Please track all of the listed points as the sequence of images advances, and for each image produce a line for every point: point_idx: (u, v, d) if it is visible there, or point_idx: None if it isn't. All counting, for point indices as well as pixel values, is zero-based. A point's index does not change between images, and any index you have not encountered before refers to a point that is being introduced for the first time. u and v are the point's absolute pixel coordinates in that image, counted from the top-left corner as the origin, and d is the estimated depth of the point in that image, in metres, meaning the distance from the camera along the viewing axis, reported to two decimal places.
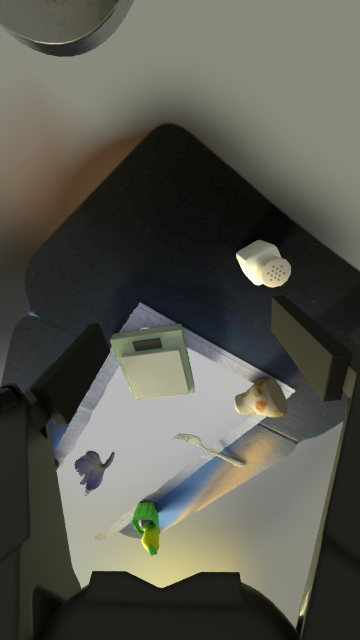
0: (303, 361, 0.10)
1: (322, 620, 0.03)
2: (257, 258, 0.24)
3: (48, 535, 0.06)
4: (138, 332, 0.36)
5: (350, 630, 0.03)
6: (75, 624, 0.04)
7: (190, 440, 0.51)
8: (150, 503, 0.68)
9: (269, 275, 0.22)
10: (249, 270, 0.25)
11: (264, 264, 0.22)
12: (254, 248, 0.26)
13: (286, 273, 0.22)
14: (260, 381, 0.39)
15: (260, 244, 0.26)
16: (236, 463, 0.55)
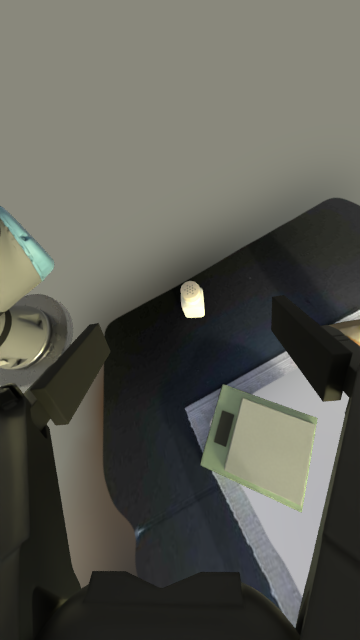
0: (303, 361, 0.10)
1: (322, 620, 0.03)
2: (183, 300, 0.36)
3: (48, 535, 0.06)
4: (210, 429, 0.34)
5: (350, 630, 0.03)
6: (75, 624, 0.04)
7: None
8: None
9: (189, 293, 0.33)
10: (189, 307, 0.35)
11: (181, 294, 0.33)
12: None
13: (193, 284, 0.33)
14: None
15: None
16: None
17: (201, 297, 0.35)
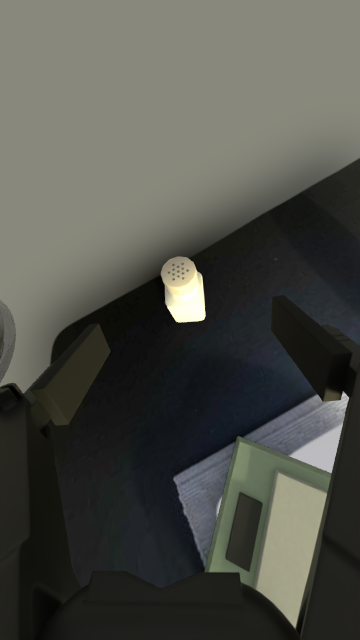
0: (303, 361, 0.10)
1: (322, 620, 0.03)
2: (168, 293, 0.21)
3: (48, 535, 0.06)
4: (217, 525, 0.19)
5: (350, 630, 0.03)
6: (75, 624, 0.04)
7: None
8: None
9: (176, 278, 0.17)
10: (178, 305, 0.20)
11: (163, 281, 0.18)
12: None
13: (184, 261, 0.18)
14: None
15: None
16: None
17: (199, 287, 0.20)
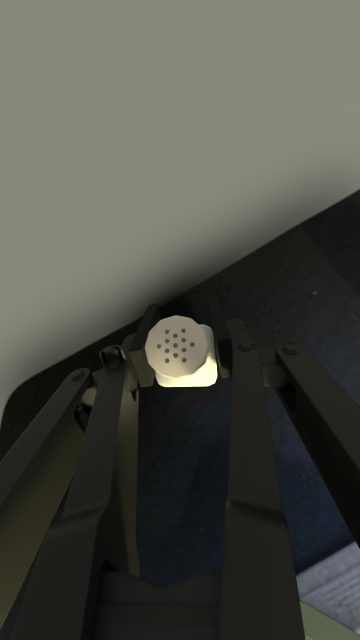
0: (216, 348, 0.13)
1: (232, 577, 0.03)
2: None
3: (123, 503, 0.06)
4: None
5: (250, 569, 0.03)
6: None
7: None
8: None
9: (173, 359, 0.10)
10: (176, 384, 0.12)
11: (149, 362, 0.10)
12: None
13: (186, 326, 0.10)
14: None
15: None
16: None
17: (211, 356, 0.12)
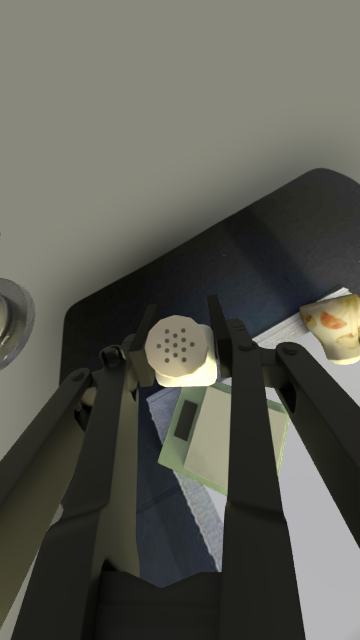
0: (216, 348, 0.13)
1: (232, 577, 0.03)
2: None
3: (122, 503, 0.06)
4: None
5: (250, 569, 0.03)
6: None
7: None
8: None
9: (172, 359, 0.10)
10: (176, 384, 0.12)
11: (149, 361, 0.10)
12: None
13: (186, 326, 0.10)
14: (301, 317, 0.30)
15: None
16: None
17: (211, 355, 0.12)
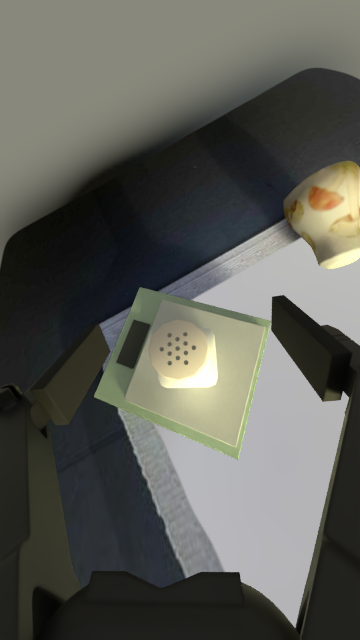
0: (303, 361, 0.10)
1: (322, 620, 0.03)
2: None
3: (48, 535, 0.06)
4: None
5: (350, 630, 0.03)
6: (75, 624, 0.04)
7: None
8: None
9: (175, 361, 0.10)
10: (178, 385, 0.13)
11: (152, 364, 0.11)
12: None
13: (187, 330, 0.10)
14: (285, 216, 0.23)
15: None
16: None
17: (211, 358, 0.13)
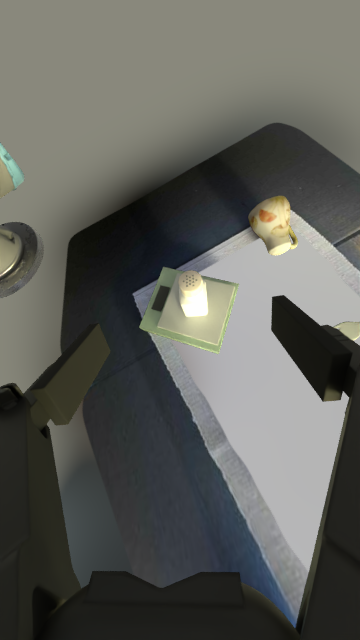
0: (303, 361, 0.10)
1: (322, 620, 0.03)
2: (182, 295, 0.29)
3: (49, 535, 0.06)
4: None
5: (350, 630, 0.03)
6: (75, 624, 0.04)
7: (347, 335, 0.32)
8: None
9: (189, 285, 0.26)
10: (189, 303, 0.29)
11: (179, 287, 0.26)
12: None
13: (193, 273, 0.26)
14: (250, 224, 0.39)
15: None
16: None
17: (204, 291, 0.29)
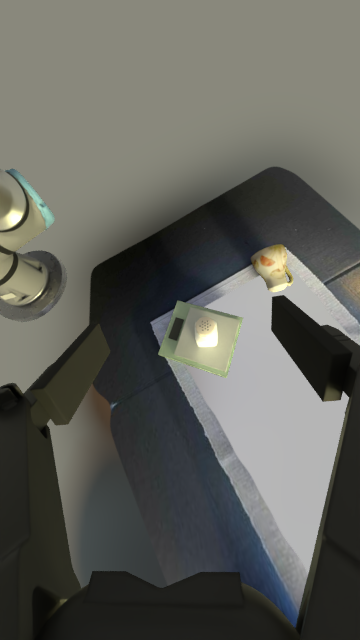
0: (303, 361, 0.10)
1: (322, 620, 0.03)
2: (197, 333, 0.36)
3: (48, 535, 0.06)
4: None
5: (350, 630, 0.03)
6: (75, 624, 0.04)
7: None
8: None
9: (204, 329, 0.32)
10: (203, 341, 0.35)
11: (196, 330, 0.33)
12: None
13: (208, 319, 0.33)
14: (252, 264, 0.46)
15: None
16: None
17: (215, 330, 0.35)
